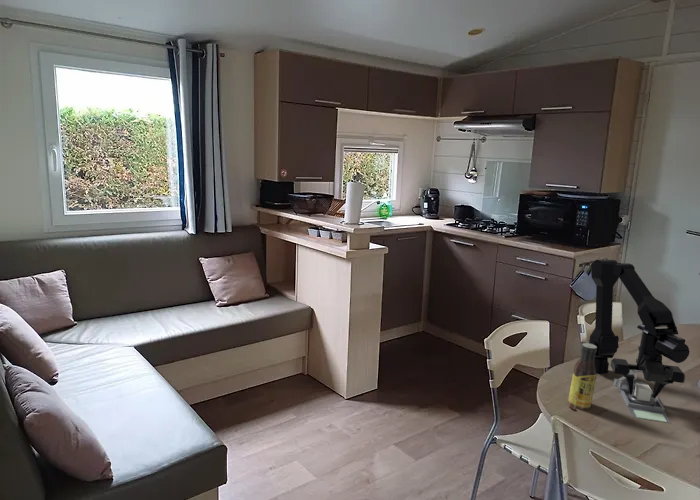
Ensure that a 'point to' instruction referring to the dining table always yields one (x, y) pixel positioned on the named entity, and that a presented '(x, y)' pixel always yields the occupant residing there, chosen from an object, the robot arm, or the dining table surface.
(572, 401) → the sauce bottle
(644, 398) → the plug
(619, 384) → the pivoting lever handle
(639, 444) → the dining table surface
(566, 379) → the dining table surface
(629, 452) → the dining table surface
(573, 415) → the dining table surface
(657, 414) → the socket base
